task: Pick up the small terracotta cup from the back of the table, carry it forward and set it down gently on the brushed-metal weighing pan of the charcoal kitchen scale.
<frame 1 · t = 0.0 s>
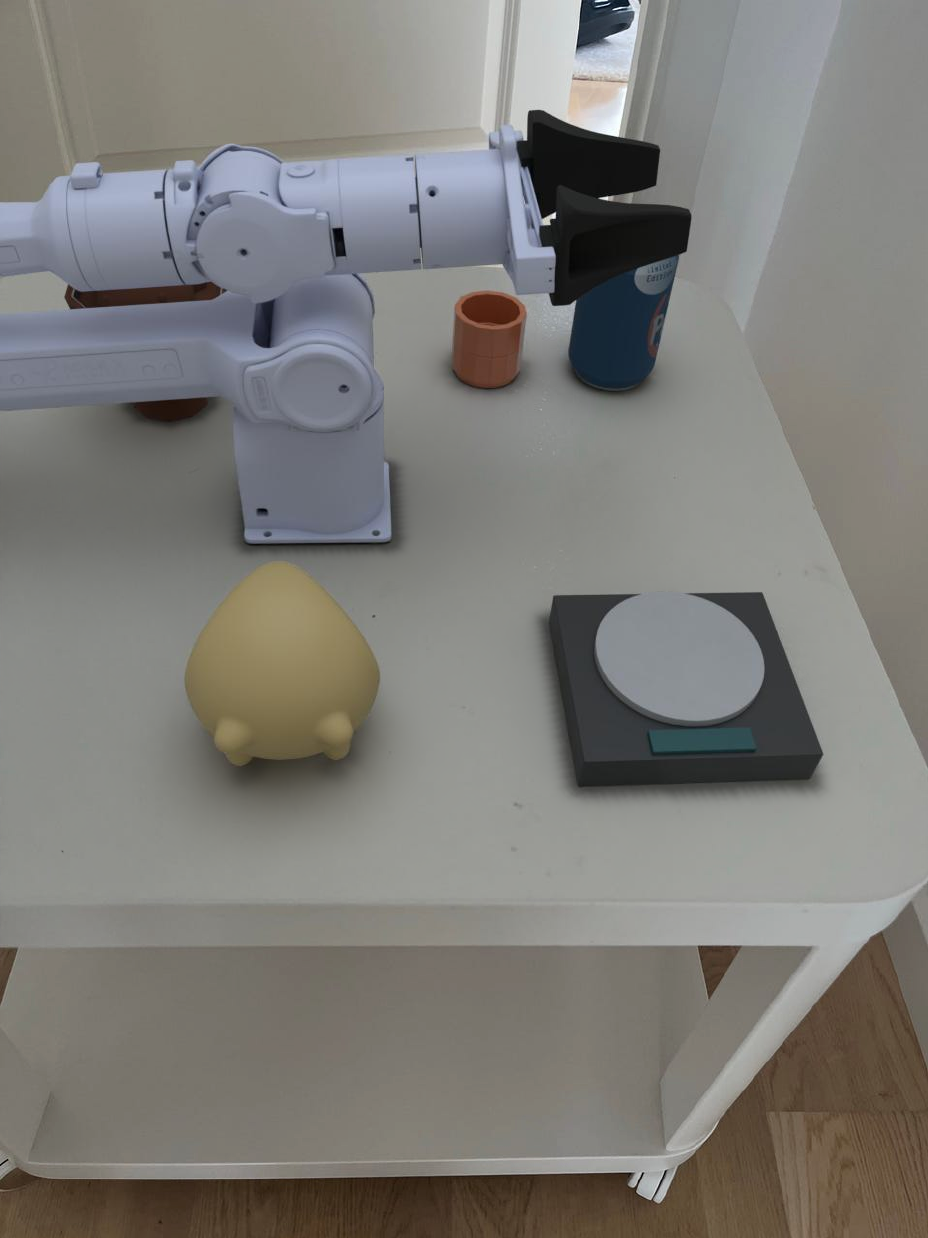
hand: (671, 196, 54), 22 cm above the table, tool horizontal, fingers open, 7 cm apart
terracotta cup: (485, 369, 80), on the table
ice cream bowl: (171, 401, 75), on the table
toy pig: (290, 721, 56), on the table
scale: (671, 695, 59), on the table
soda can: (608, 372, 81), on the table
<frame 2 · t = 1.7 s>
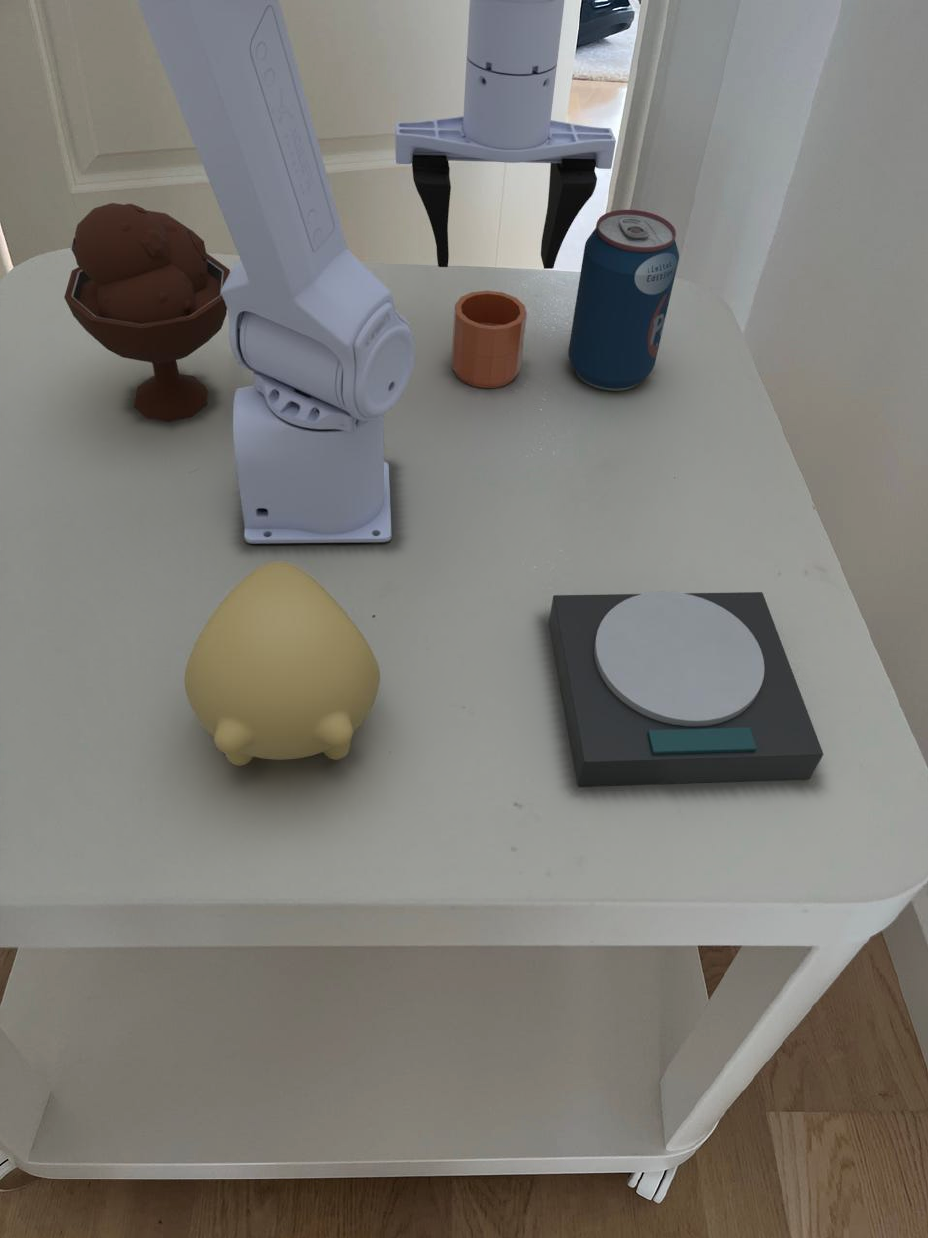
hand: (494, 261, 73), 9 cm above the table, tool pointing down, fingers open, 7 cm apart
nothing on the table moved.
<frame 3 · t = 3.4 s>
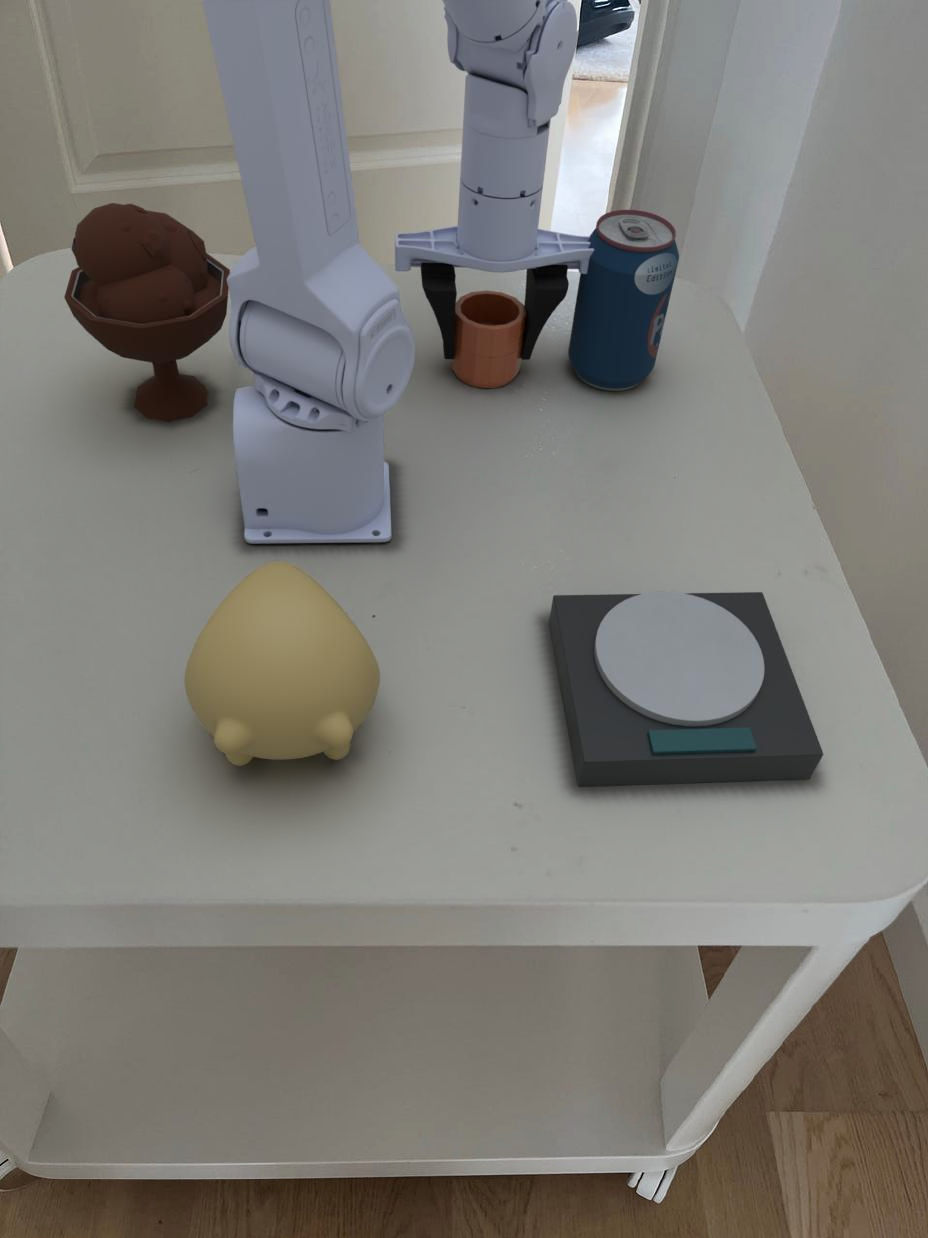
hand: (487, 352, 79), 2 cm above the table, tool pointing down, fingers closed on terracotta cup, 5 cm apart
terracotta cup: (485, 369, 80), on the table, touching gripper
everything else where it was.
when the fingers open (5 cm above the table, at t = 9.6 s): terracotta cup stays where it is, resting on scale.
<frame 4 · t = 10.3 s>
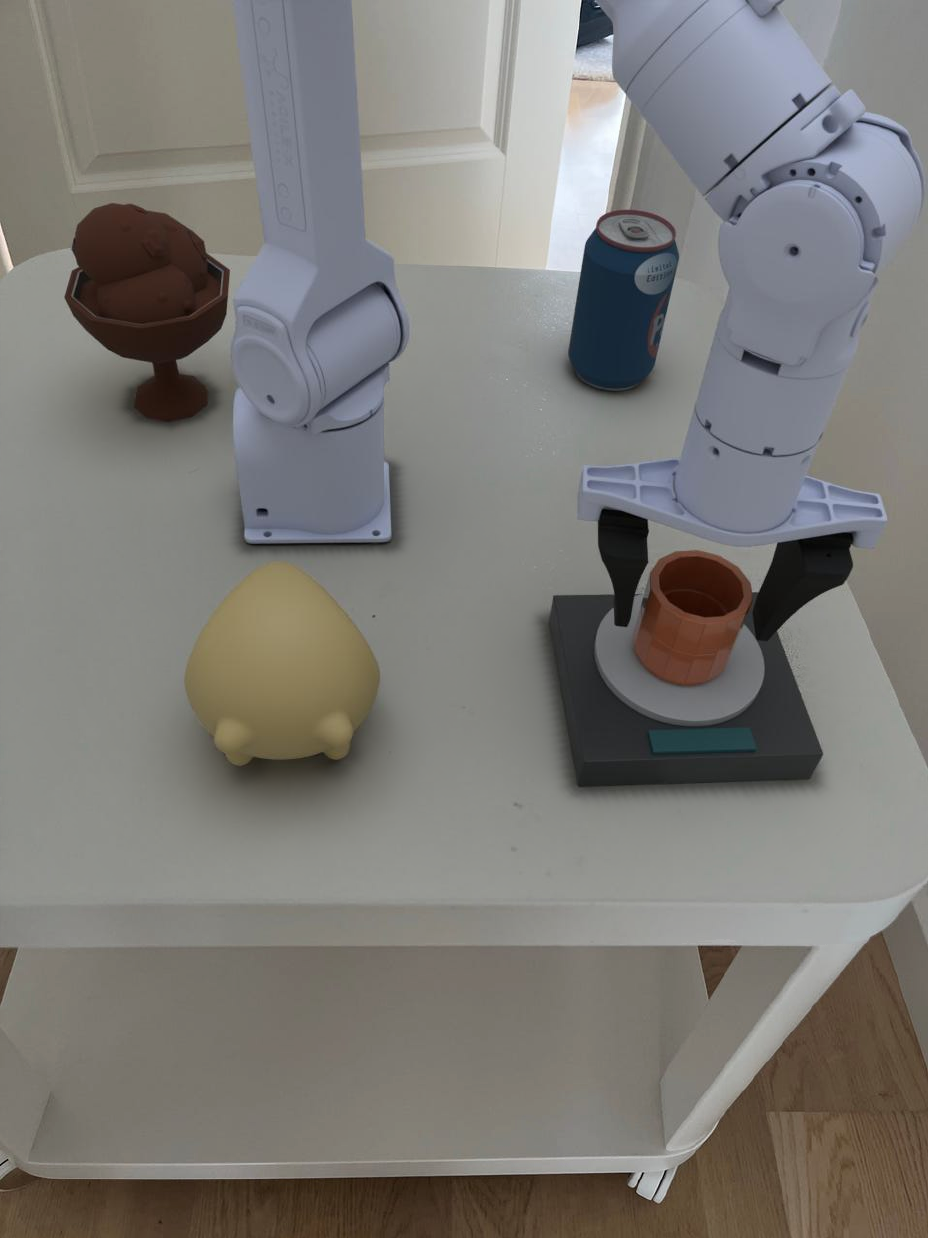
hand: (690, 620, 55), 6 cm above the table, tool pointing down, fingers open, 7 cm apart
terracotta cup: (679, 651, 57), point 3 cm above the table, touching scale
everything else where it was.
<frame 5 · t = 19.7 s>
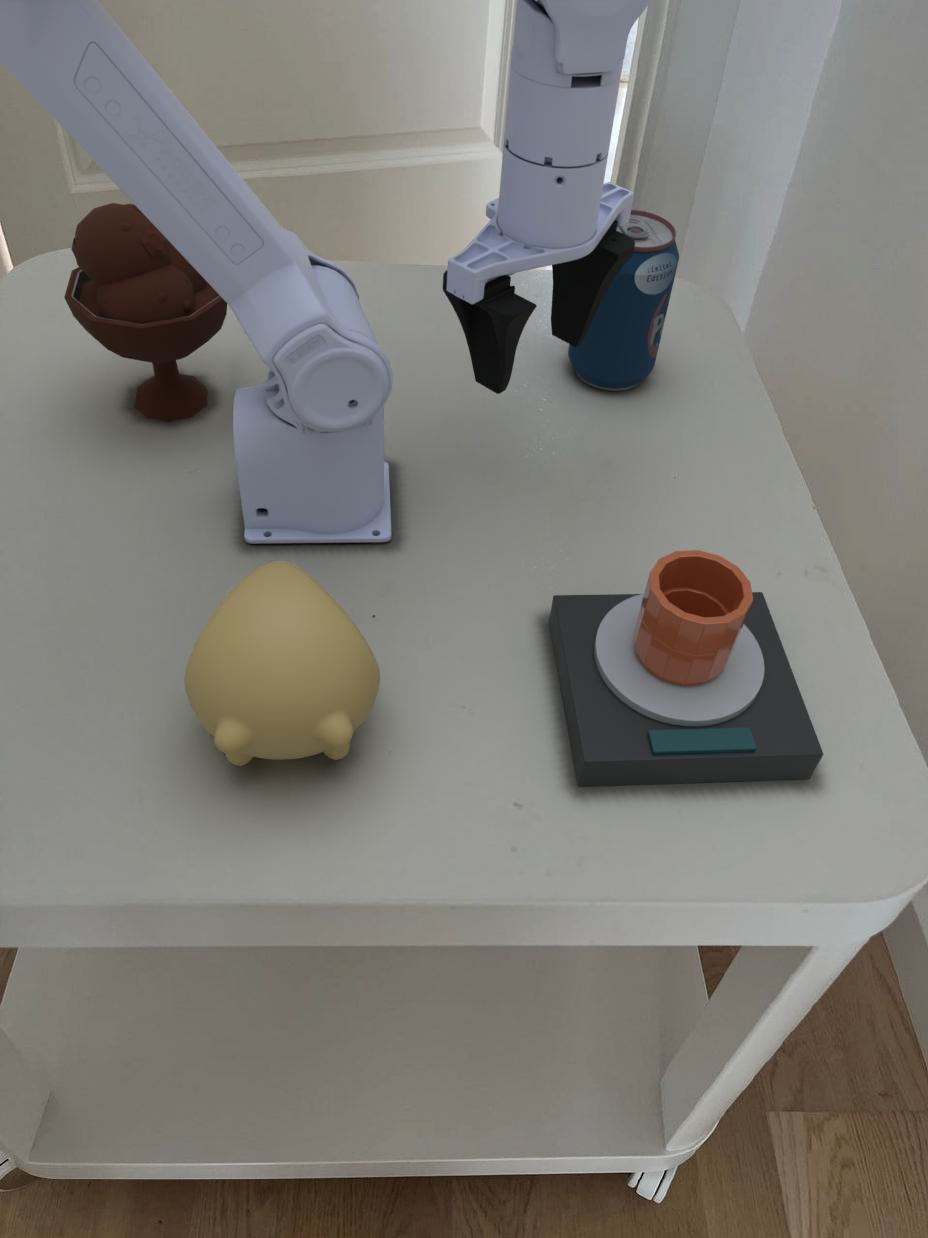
hand: (529, 361, 64), 9 cm above the table, tool pointing down, fingers open, 7 cm apart
nothing on the table moved.
at the end: terracotta cup 0.0 cm off-centre on the scale, point 3.0 cm above the scale's base; terracotta cup tilted 0°; the gripper is holding nothing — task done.
